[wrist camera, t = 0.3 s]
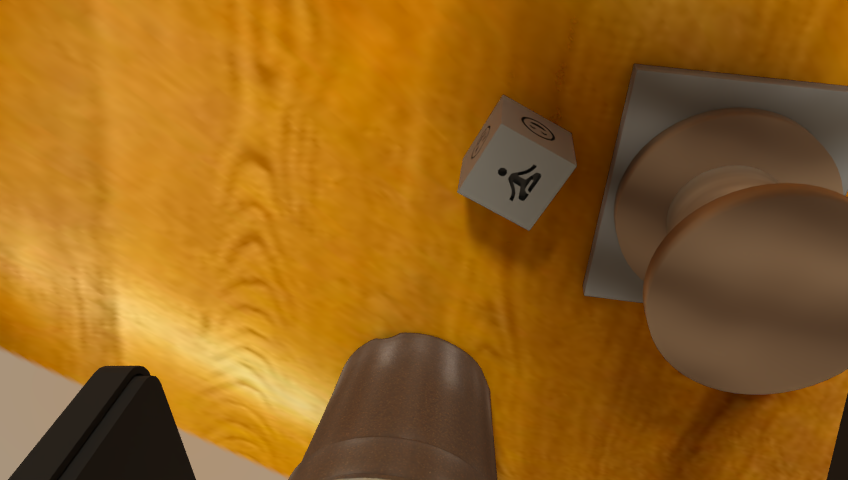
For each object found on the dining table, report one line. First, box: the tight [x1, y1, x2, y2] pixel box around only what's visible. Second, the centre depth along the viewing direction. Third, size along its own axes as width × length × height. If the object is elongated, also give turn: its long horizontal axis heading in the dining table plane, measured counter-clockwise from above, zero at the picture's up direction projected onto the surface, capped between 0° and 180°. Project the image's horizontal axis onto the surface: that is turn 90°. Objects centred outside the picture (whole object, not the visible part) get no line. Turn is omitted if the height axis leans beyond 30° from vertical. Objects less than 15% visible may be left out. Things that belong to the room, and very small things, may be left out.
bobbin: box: [583, 64, 848, 395], centre depth 40 cm, size 16×14×12 cm
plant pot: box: [288, 333, 497, 480], centre depth 49 cm, size 16×16×16 cm
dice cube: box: [457, 95, 577, 231], centre depth 43 cm, size 5×5×5 cm
